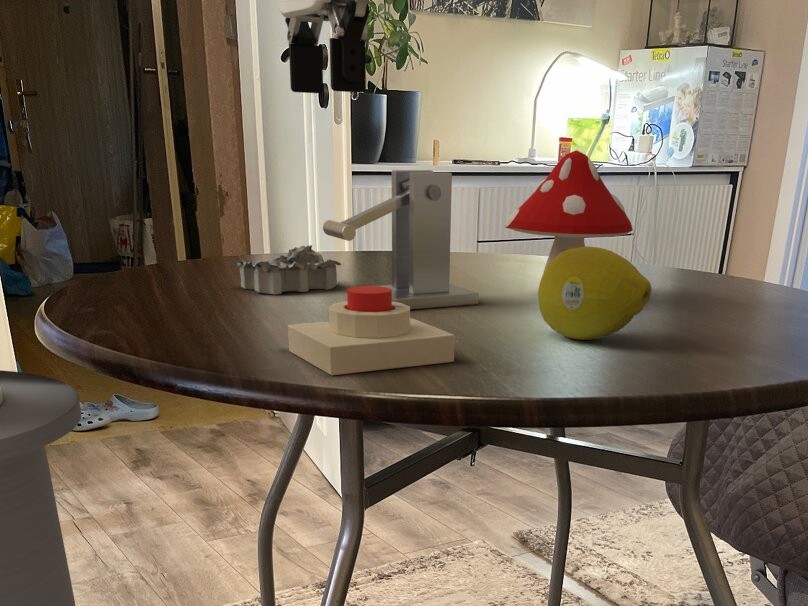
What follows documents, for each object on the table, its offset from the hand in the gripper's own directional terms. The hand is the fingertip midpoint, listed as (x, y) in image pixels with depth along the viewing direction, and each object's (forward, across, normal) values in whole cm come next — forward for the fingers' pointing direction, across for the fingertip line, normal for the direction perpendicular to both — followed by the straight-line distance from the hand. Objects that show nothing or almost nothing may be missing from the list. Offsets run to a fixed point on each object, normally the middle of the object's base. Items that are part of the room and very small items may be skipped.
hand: (326, 92), depth 85 cm
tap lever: (+11, 0, +6) cm, 13 cm away
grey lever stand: (+20, 0, +10) cm, 22 cm away
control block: (+20, +21, -6) cm, 29 cm away
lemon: (+20, +23, +15) cm, 34 cm away
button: (+16, +21, -6) cm, 27 cm away
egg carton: (+20, -13, 0) cm, 24 cm away
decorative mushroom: (+20, +3, +27) cm, 34 cm away
